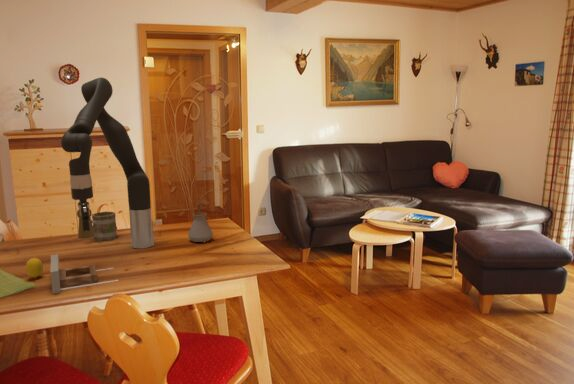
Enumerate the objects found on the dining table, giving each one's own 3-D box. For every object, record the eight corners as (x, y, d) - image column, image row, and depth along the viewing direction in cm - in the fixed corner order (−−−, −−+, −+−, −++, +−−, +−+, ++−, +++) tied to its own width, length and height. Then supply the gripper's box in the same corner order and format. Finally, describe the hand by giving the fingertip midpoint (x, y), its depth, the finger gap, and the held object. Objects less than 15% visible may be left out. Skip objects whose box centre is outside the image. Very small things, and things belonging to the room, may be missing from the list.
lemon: (31, 275, 176) (28, 255, 175) (46, 275, 177) (44, 254, 175) (24, 281, 171) (21, 260, 170) (40, 280, 171) (37, 259, 170)
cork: (89, 238, 180) (86, 210, 178) (74, 238, 181) (71, 210, 179) (98, 234, 186) (95, 207, 184) (84, 234, 187) (81, 206, 185)
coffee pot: (213, 243, 216) (212, 211, 214) (188, 244, 214) (186, 212, 211) (211, 231, 237) (210, 201, 234) (188, 232, 235) (186, 203, 232)
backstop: (113, 267, 185) (111, 247, 184) (119, 284, 168) (117, 262, 166) (53, 275, 176) (50, 255, 175) (52, 294, 159) (50, 272, 157)
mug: (108, 234, 232) (107, 210, 230) (122, 237, 226) (120, 213, 224) (79, 241, 220) (76, 216, 218) (92, 245, 214) (90, 219, 212)
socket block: (95, 272, 179) (94, 264, 178) (97, 282, 168) (97, 274, 168) (60, 277, 174) (59, 269, 173) (60, 288, 163) (59, 280, 163)
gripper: (69, 184, 184) (74, 227, 188) (71, 190, 172) (76, 235, 175) (90, 182, 188) (94, 224, 191) (93, 187, 175) (98, 232, 178)
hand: (86, 229), depth 183 cm, fingers closed on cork, 4 cm apart
